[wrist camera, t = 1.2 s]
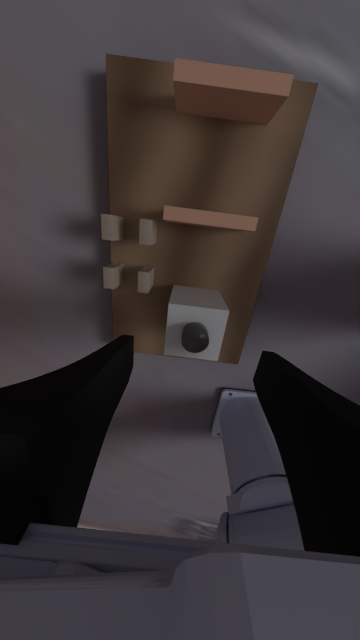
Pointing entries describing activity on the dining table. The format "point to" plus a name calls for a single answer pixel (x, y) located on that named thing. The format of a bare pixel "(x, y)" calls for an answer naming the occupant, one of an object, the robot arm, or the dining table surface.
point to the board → (189, 200)
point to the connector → (195, 323)
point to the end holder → (225, 116)
